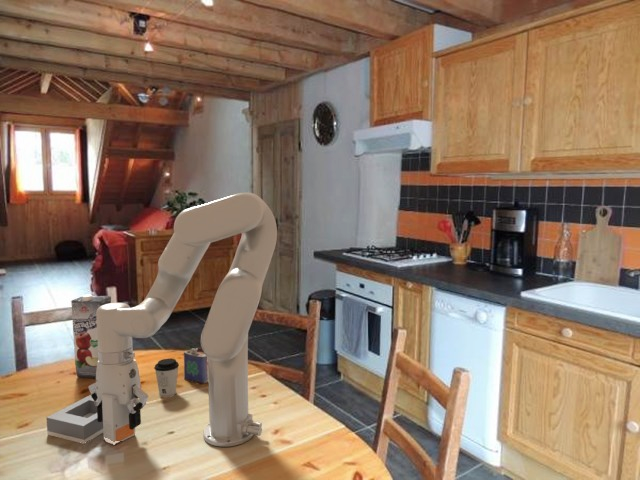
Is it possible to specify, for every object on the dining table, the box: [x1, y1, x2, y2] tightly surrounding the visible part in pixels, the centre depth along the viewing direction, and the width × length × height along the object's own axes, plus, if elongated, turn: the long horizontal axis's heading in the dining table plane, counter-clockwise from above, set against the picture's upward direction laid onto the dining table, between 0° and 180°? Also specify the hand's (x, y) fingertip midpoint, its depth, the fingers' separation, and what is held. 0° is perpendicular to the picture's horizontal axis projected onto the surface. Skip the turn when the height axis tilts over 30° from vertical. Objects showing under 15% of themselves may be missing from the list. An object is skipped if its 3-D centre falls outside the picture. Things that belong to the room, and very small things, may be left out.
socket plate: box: [45, 394, 103, 444], centre depth 117 cm, size 12×14×4 cm
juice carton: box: [70, 293, 112, 379], centre depth 149 cm, size 9×10×27 cm
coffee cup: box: [153, 358, 180, 398], centre depth 135 cm, size 7×7×10 cm
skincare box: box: [102, 394, 136, 442], centre depth 111 cm, size 6×4×12 cm
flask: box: [183, 347, 208, 385], centre depth 145 cm, size 9×3×11 cm, turn 61°
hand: (119, 423), depth 111 cm, fingers open, 9 cm apart
